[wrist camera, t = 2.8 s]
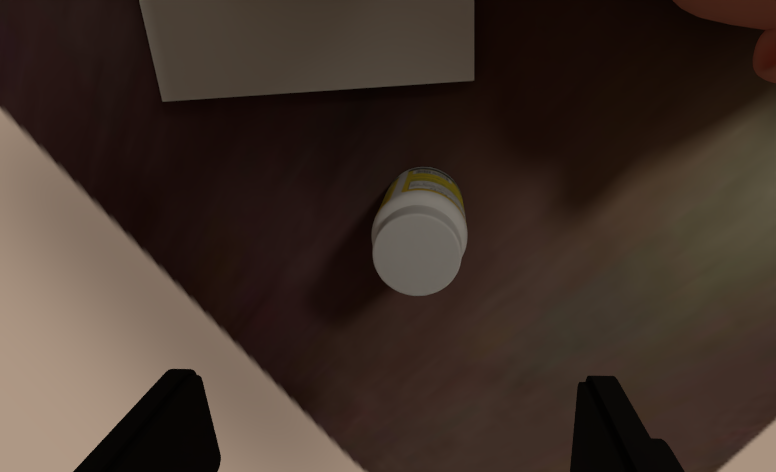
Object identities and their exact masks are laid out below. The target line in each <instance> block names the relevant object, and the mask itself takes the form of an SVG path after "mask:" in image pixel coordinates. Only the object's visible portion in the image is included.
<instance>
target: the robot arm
mask: <svg viewBox="0 0 776 472" xmlns="http://www.w3.org/2000/svg"><path fill="white" fill-rule="evenodd" d="M220 461H221V455H220V451H219V447H218V443H217V438H216V434H215V430H214V426H213V422H212V418H211V414H210V410H209V406H208V402H207V398H206V394H205V390H204V385H203V381H202V378H201V377H200V376H199V375H196V372H195V371H194V370H191V369H170V370H168V371H167V372H166V373H165V374H164V375H163V376H162V377H161V378H160V379H159V380H158V381H157V382H156V383H155V384H154V386H153V387H152V388H151V389H150V390H149V391H148V392H147V393H146V394H145V395H144V396H143V397H142V398H141V400H139V402H138V403H137V404H136V405H135V406H134V407H133V408H132V409H131V410H130V411H129V412H128V413H127V414H126V416H125V417H124V418H123V419H122V420H121V421H120V422H119V423H118V424H117V425H116V426H115V427H114V428H113V429H112V431H111V432H110V433H109V434H108V435H107V436H106V437H105V438H104V439H103V440H102V441H101V442H100V444H99V445H98V446H97V447H96V448H95V449H94V450H93V451H92V452H91V453H90V454H89V455H88V456H87V457H86V459H85V460H84V461H83V462H82V463H81V464H80V465H79V466H78V467H77V468H76V469H75V470H74V471H73V472H217V471H218V469H219V466H220ZM570 472H684V470H683V468H682V467H681V465H680V463H679V462H678V460H677V458H676V457H675V455H674V453H673V452H672V450H671V449H670V447H669V446H668V444H667V443H666V442H665V441H664V440H662V439H651V438H650V436H649V434H648V433H647V431H646V429H645V427H644V426H643V424H642V422H641V420H640V419H639V417H638V415H637V413H636V412H635V410H634V408H633V406H632V405H631V403H630V401H629V399H628V398H627V396H626V394H625V392H624V391H623V389H622V387H621V385H620V384H619V382H618V380H617V379H616V377H614V376H587V379H586V382H579V384H578V389H577V400H576V412H575V423H574V434H573V445H572V456H571V467H570Z"/></svg>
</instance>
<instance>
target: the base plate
mask: <svg viewBox="0 0 776 472" xmlns="http://www.w3.org/2000/svg"><path fill="white" fill-rule="evenodd" d="M139 2H140V7H141V11H142V15H143V20H144V24H145V28H146V32H147V37H148V41H149V45H150V50H151V54H152V58H153V63H154V67H155V71H156V76H157V80H158V84H159V89H160V93H161V97H162V102H166V101H181V100H196V99H211V98H225V97H240V96H255V95H270V94H284V93H299V92H314V91H329V90H343V89H358V88H373V87H388V86H403V85H417V84H432V83H447V82H462V81H474V0H139Z"/></svg>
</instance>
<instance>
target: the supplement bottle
mask: <svg viewBox="0 0 776 472" xmlns="http://www.w3.org/2000/svg"><path fill="white" fill-rule="evenodd" d="M372 245H373V262H374V266H375V268H376V271H377V273H378V274H379V276H380V277H381V279H382V280H383V281H384V282H385V283H386V284H387V285H388V286H390V287H391V288H392V289H394V290H396V291H398V292H400V293H403V294H407V295H412V296H424V295H429V294H433V293H435V292H438V291H440V290H442V289H443V288H445V287H446V286H447V285H448V284H449V283H450V282H451V281H452V280H453V279H454V277H455V276H456V274H457V272H458V270H459V267H460V264H461V258H462V256H463V254H464V251H465V249H466V245H467V224H466V219H465V212H464V206H463V200H462V195H461V192H460V190H459V188H458V186H457V184H456V183H455V182H454V180H453V179H452V178H451V177H450V176H448V175H447V174H446V173H444V172H442V171H440V170H438V169H435V168H431V167H417V168H413V169H409V170H407V171H405V172H404V173H402V174H400V175H399V176H398V177H397V178H396V179H395V180H394V181H393V182H392V183H391V185H390V186H389V188H388V190H387V192H386V195H385V197H384V199H383V202H382V204H381V206H380V208H379V211H378V213H377V215H376V217H375V219H374V223H373V226H372Z"/></svg>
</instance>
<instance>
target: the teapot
mask: <svg viewBox="0 0 776 472" xmlns="http://www.w3.org/2000/svg"><path fill="white" fill-rule="evenodd" d="M672 1H673V2H675V3H676V4H677V5H678V6H679V7H680V8H681V9H683V10H685V11H687V12H689V13H691V14H693V15H695V16H697V17H700V18H703V19H708V20H712V21H716V22H721V23H725V24H729V25H735V26H742V27H748V28H755V29H761V30H765V31H764V32H763V33H762V34H761V36H760V37H759V39H758V41H757V43H756V46H755V49H754V54H753V69H754V71H755V73H756V74H757V75H758V76H759V77H761V78H762V79H764V80H766V81H769V82H772V83H776V0H672Z"/></svg>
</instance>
